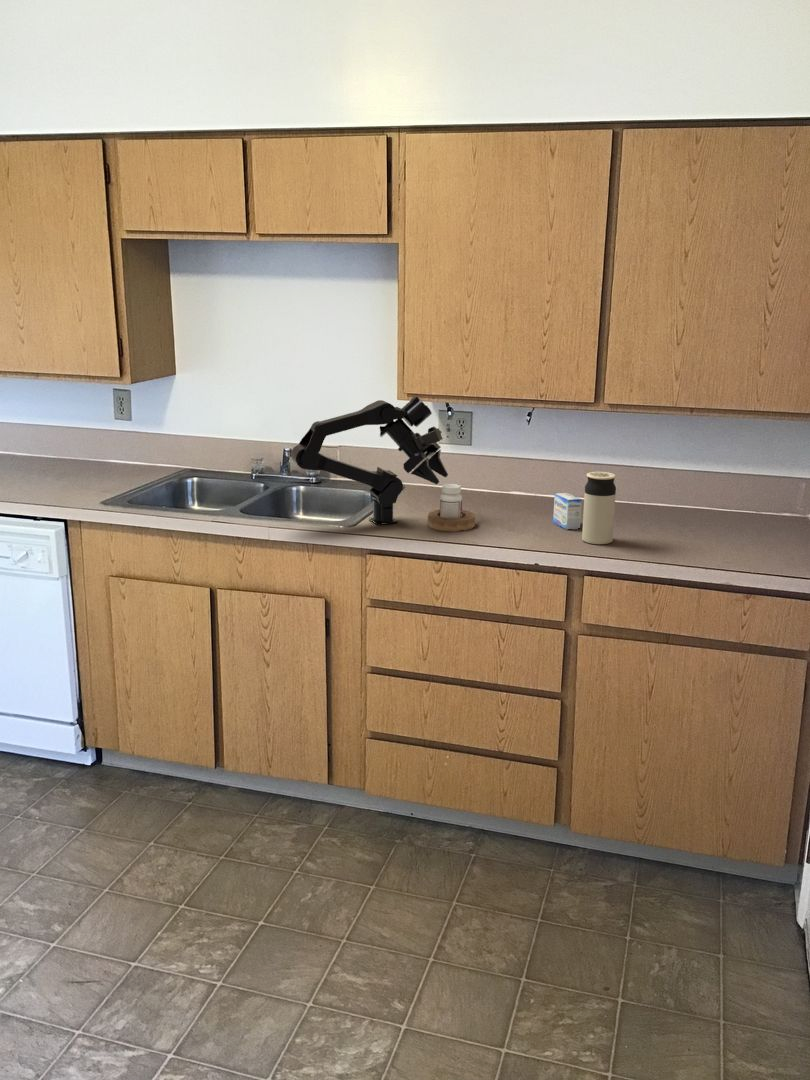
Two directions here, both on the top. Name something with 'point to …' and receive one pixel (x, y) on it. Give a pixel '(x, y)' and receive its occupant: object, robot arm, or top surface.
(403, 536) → the top surface
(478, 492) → the top surface
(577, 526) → the medicine box
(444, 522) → the walnut ring
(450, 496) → the pill bottle
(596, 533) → the travel mug
